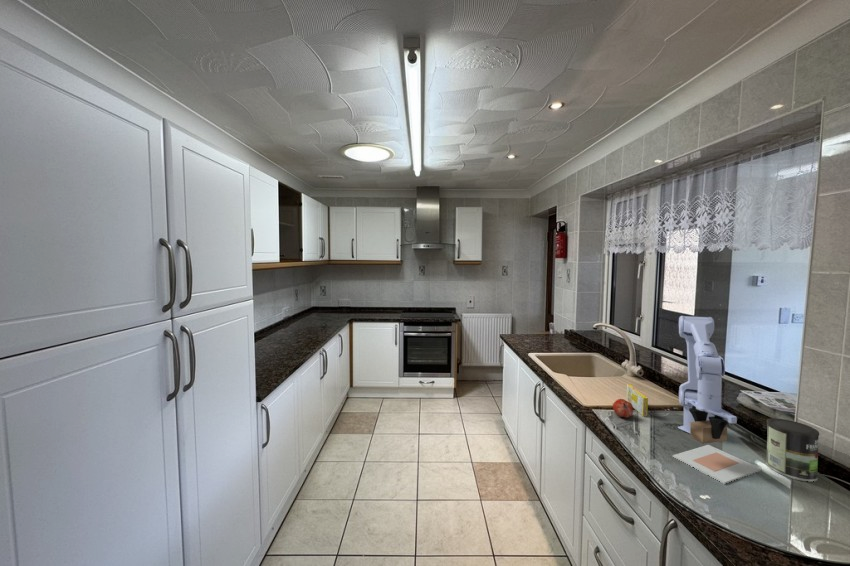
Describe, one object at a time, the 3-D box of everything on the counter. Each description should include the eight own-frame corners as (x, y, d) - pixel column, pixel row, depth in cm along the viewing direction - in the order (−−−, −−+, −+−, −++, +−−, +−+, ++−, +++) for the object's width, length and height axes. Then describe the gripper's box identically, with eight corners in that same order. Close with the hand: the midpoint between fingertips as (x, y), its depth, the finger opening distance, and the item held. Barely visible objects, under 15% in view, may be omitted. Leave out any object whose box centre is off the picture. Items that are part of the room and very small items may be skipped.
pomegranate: (610, 416, 136) (612, 410, 129) (612, 400, 139) (614, 393, 132) (631, 422, 132) (633, 417, 125) (632, 406, 135) (635, 399, 128)
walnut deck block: (690, 436, 102) (690, 421, 102) (713, 434, 104) (713, 419, 103) (702, 443, 98) (703, 427, 98) (726, 440, 100) (727, 425, 100)
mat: (708, 446, 109) (708, 444, 109) (761, 470, 96) (761, 468, 96) (672, 457, 103) (672, 455, 103) (724, 484, 90) (724, 482, 90)
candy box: (648, 417, 131) (648, 398, 130) (642, 417, 131) (642, 397, 131) (630, 401, 147) (631, 384, 146) (625, 401, 147) (626, 383, 147)
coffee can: (823, 476, 93) (825, 429, 92) (809, 486, 88) (810, 438, 88) (774, 457, 102) (775, 415, 101) (759, 465, 98) (760, 422, 97)
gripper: (677, 386, 107) (676, 424, 108) (723, 404, 93) (722, 448, 93) (694, 384, 108) (694, 422, 109) (743, 402, 94) (742, 445, 94)
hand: (708, 434), depth 101 cm, fingers closed on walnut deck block, 4 cm apart
